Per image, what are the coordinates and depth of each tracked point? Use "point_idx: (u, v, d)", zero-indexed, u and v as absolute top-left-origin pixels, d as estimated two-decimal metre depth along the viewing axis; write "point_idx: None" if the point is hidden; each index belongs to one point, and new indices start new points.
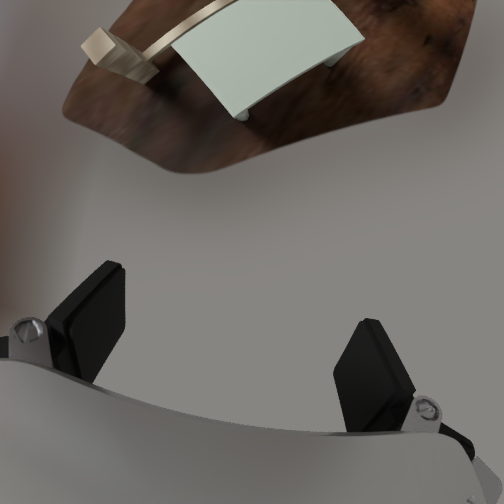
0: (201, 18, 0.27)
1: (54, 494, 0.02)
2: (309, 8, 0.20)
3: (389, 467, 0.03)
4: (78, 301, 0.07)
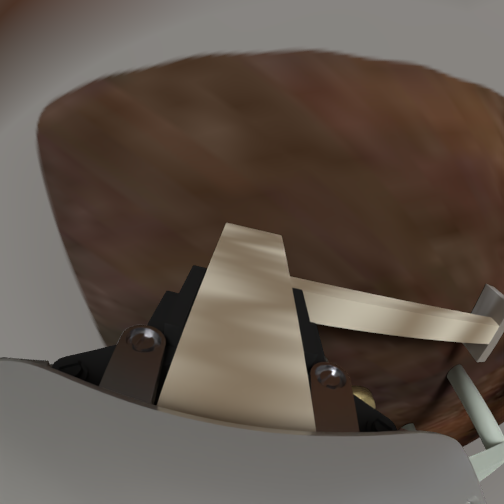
0: (425, 336, 0.13)
1: (54, 494, 0.02)
2: None
3: (389, 467, 0.03)
4: (187, 306, 0.08)
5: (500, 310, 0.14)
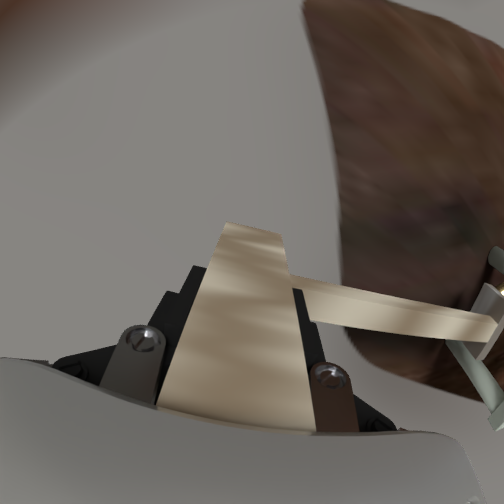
0: (424, 334, 0.14)
1: (54, 494, 0.02)
2: None
3: (389, 467, 0.03)
4: (187, 306, 0.08)
5: (499, 308, 0.14)
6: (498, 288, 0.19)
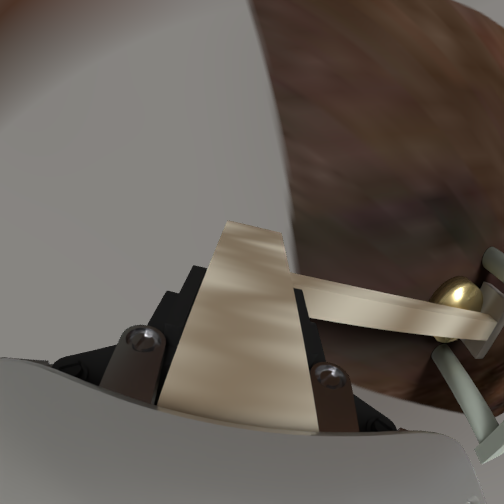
0: (424, 332, 0.14)
1: (54, 494, 0.02)
2: None
3: (389, 467, 0.03)
4: (187, 306, 0.08)
5: (498, 307, 0.14)
6: (450, 285, 0.16)
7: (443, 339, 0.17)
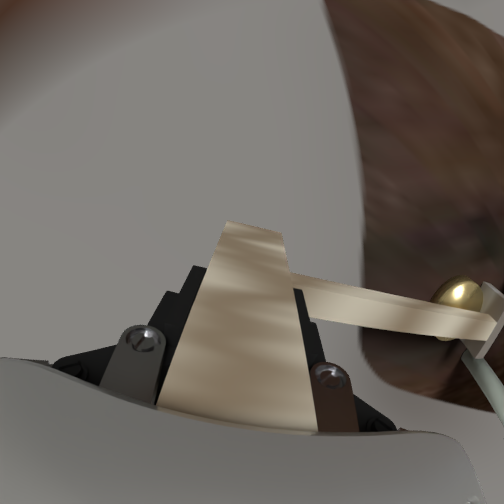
0: (423, 332, 0.14)
1: (54, 494, 0.02)
2: None
3: (389, 467, 0.03)
4: (187, 306, 0.08)
5: (498, 307, 0.14)
6: (451, 282, 0.16)
7: (443, 337, 0.17)
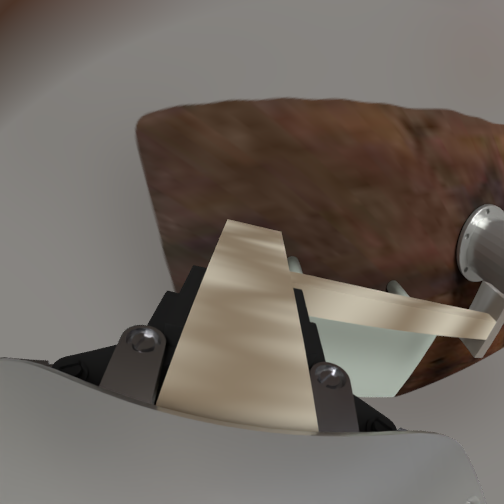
0: (423, 330, 0.14)
1: (54, 494, 0.02)
2: (399, 362, 0.26)
3: (389, 467, 0.03)
4: (187, 306, 0.08)
5: (497, 306, 0.14)
6: None
7: None
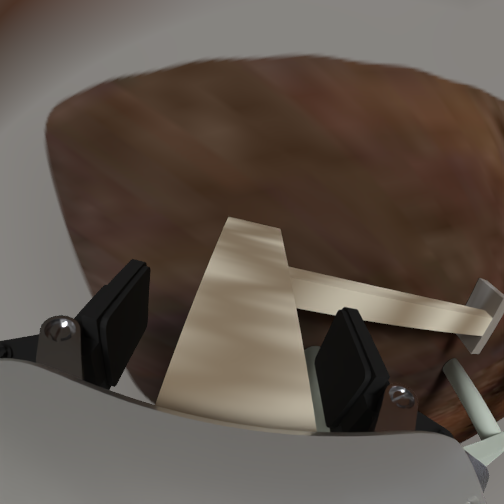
0: (419, 326, 0.14)
1: (54, 494, 0.02)
2: None
3: (389, 467, 0.03)
4: (109, 299, 0.07)
5: (493, 303, 0.15)
6: None
7: None
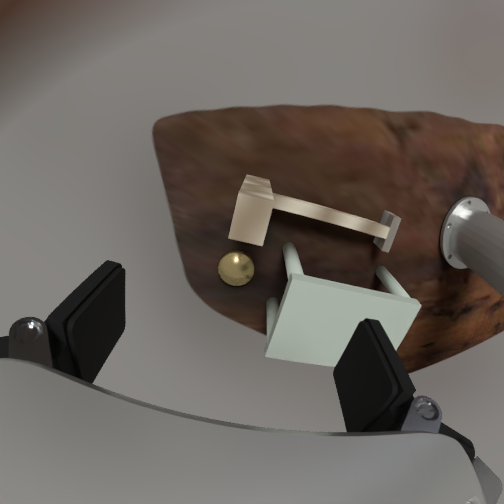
0: (337, 223, 0.34)
1: (54, 494, 0.02)
2: None
3: (389, 467, 0.03)
4: (78, 301, 0.07)
5: (390, 220, 0.34)
6: (226, 253, 0.39)
7: (231, 283, 0.40)
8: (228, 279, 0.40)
